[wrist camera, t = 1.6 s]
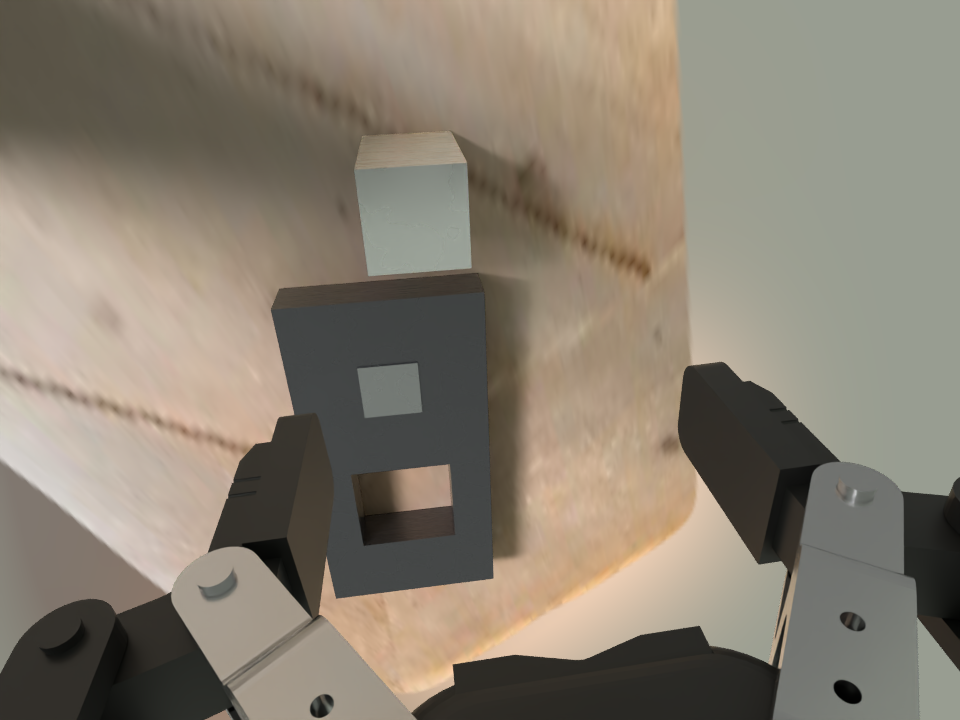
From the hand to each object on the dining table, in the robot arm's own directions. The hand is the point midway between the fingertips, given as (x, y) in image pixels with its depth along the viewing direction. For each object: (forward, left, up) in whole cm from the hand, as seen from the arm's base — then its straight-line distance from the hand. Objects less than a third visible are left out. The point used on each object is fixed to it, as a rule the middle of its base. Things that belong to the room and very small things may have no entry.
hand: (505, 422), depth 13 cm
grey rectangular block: (-1, +1, -19) cm, 19 cm away
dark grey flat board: (-3, -14, -18) cm, 23 cm away
